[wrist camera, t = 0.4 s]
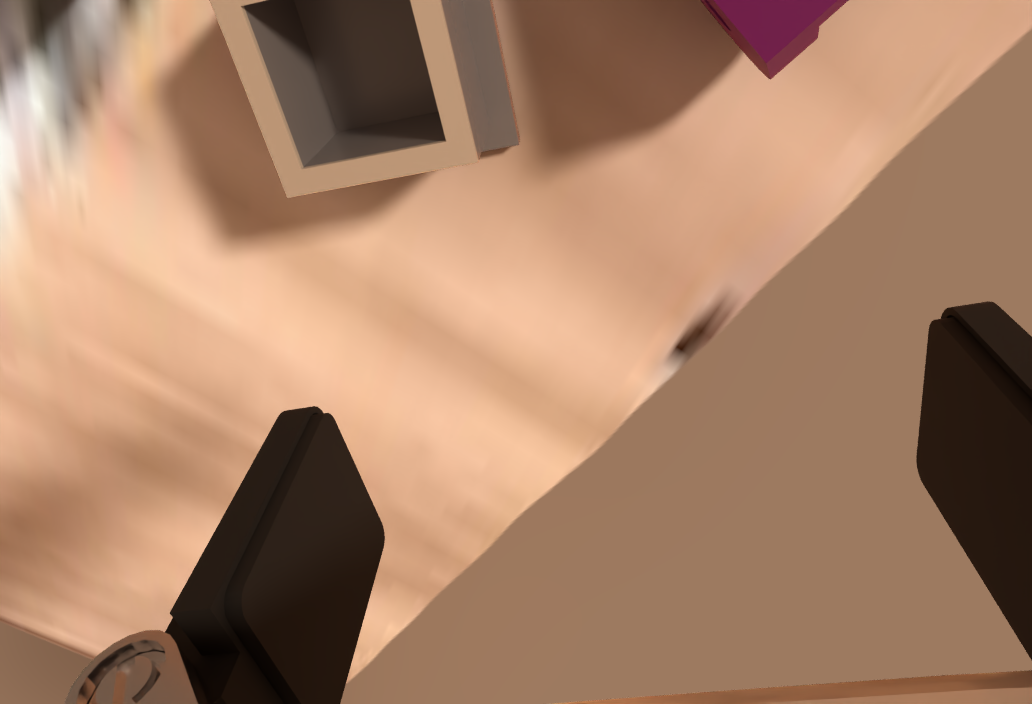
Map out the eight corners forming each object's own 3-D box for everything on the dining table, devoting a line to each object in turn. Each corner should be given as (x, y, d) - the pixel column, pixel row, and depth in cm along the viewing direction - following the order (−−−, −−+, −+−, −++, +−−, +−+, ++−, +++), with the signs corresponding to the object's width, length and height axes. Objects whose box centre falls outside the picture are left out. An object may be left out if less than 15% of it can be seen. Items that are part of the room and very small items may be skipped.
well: (230, -58, 34) (158, -48, 28) (468, -118, 32) (446, -121, 26) (316, 178, 41) (272, 227, 34) (519, 139, 39) (511, 184, 33)
